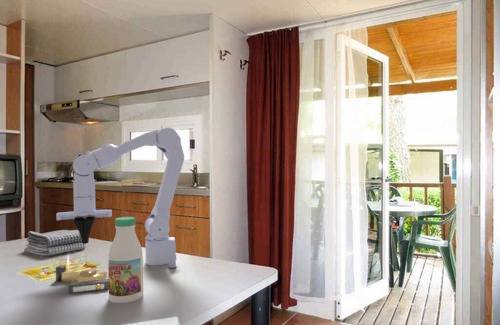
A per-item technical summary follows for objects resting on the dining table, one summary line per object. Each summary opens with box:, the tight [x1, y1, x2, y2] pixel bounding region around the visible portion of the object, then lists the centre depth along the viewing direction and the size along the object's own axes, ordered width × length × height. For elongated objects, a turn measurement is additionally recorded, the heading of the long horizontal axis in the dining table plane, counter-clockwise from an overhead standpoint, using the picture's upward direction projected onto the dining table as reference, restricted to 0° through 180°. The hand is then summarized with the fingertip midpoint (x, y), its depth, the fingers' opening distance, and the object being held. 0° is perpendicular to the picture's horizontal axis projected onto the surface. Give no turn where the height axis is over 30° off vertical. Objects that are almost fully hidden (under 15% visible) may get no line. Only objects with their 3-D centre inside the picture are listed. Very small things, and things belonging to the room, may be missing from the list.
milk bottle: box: [107, 216, 144, 304], centre depth 82 cm, size 8×8×20 cm
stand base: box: [68, 278, 109, 295], centre depth 92 cm, size 16×16×3 cm
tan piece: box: [55, 265, 108, 283], centre depth 92 cm, size 15×7×4 cm, turn 73°
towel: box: [23, 229, 87, 257], centre depth 133 cm, size 15×18×8 cm
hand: (85, 242), depth 101 cm, fingers closed
